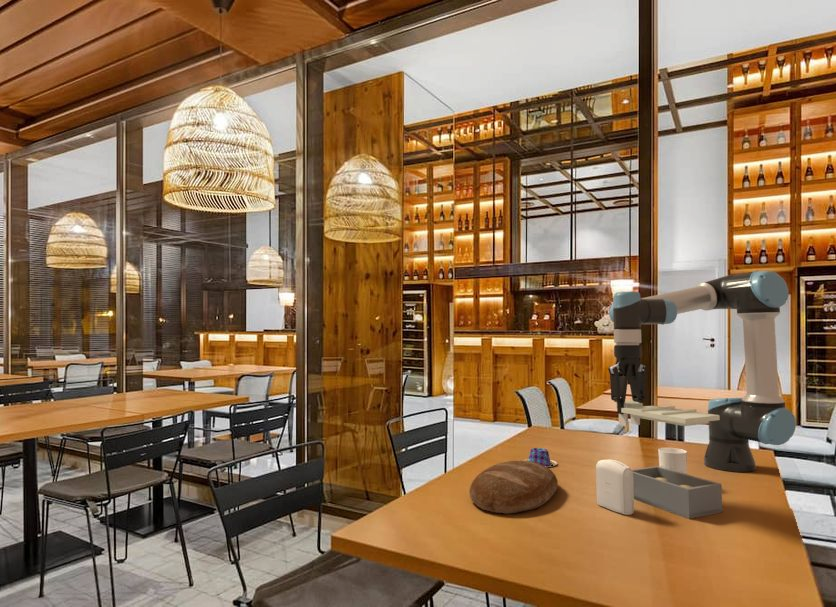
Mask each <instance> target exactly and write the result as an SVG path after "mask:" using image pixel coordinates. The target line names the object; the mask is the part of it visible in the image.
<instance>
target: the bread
mask: <svg viewBox="0 0 836 607" xmlns="http://www.w3.org/2000/svg"><path fill="white" fill-rule="evenodd" d="M558 482H559V481H558V478H557V476H556V474H555V473H554V472H553V471H552V469H550V467H548V466H547V467H545V466H543V465H541V464H539V463H536V462H532V461H525V459H523V460H508V461H502V462H500V463H496V464H494V465H492V466H489V467H488V468H485V469H484V470H483V471H481V472H480V473H479V474H478V475H476V476H475V477H474V479H473V480H472V482H471V484H470V486H469V491H468V492H469V497H470V501H472V502H473V503H474V504H475V505H476V506H477V507H478V508H480V509H482V510H483V511H485V510H486V512H489V511H490V513H494V512H495V514H500V513H503V514H504V515H509V514H515V513H521V512H527V511H529V510H534V509H537V508H539V507H541V506H543V505H545V504H546V503H547V502H548V501H549V500H550V499H551V498H552V497H553V495H554V494H555V492H556V491H557V490H558V485H559V484H558ZM503 514H502V515H503Z"/></svg>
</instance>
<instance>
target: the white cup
mask: <svg viewBox="0 0 836 607" xmlns="http://www.w3.org/2000/svg"><path fill="white" fill-rule="evenodd" d="M657 450H658V451H657V452H658V454H657V455H658V464H659V466H658V467H662V468H666V469H669V470H673V471H676V472H680V473H684V474H687V472H688V471H687V470H688V469H687V468H688V451H687V450H685V449H682V448H677V447H660V448H659V447H658V449H657ZM687 475H688V474H687Z"/></svg>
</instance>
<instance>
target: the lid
mask: <svg viewBox="0 0 836 607" xmlns="http://www.w3.org/2000/svg"><path fill="white" fill-rule="evenodd" d="M625 403H627V408H621V412H622V413H627V414H628V415H630V418H631V417H637V418H640V419H642V420H649V421H655V422H660V423H665V424H671V425H676V426H680V427H687V426H689V427H690V426H699V425H705V424H708V425H709V421H716V420H720V416H719V415H714V414H708V412H707V413H706V412H699V411H697V409H695V408H693V409H680V408H676V407H675V405H674V406H673V405H670V406H660V405H653V404H652V405H644V403H643V402H641V403H636V402H630V401H629V400H625Z"/></svg>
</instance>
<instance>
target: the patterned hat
mask: <svg viewBox="0 0 836 607" xmlns="http://www.w3.org/2000/svg"><path fill="white" fill-rule="evenodd" d="M527 459H528V461H532V462H536V463H539V464H541V465H543V466H547V468H550V467H554V466H556V465H558V462H557V461H555V460H553V459H551V457H550V453H549V450H548V449H546V448H544V447H543V448H542V447H532V448H531V449H530V451H529V455H528V458H527ZM527 459H524V460H527ZM551 461H552V462H554V463H555V465H553V466H551V465H552V464H551ZM548 465H549V466H548Z"/></svg>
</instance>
